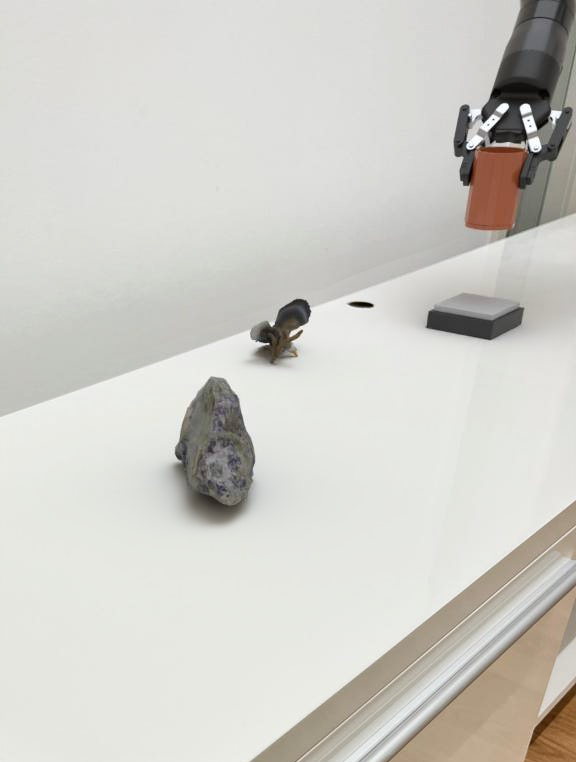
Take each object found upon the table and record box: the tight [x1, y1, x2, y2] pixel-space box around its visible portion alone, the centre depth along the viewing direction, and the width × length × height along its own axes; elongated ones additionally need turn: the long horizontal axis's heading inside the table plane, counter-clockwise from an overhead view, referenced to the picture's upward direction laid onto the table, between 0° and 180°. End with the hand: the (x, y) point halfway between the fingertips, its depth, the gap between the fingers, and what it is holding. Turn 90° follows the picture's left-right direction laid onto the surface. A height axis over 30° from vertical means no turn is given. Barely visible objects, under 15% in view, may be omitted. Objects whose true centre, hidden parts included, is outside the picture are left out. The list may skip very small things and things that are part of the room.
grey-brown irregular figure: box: [249, 298, 312, 364], centre depth 129 cm, size 8×7×9 cm
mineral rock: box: [174, 375, 256, 506], centre depth 94 cm, size 13×11×10 cm
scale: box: [425, 292, 525, 340], centre depth 138 cm, size 9×9×3 cm
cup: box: [463, 145, 528, 232], centre depth 131 cm, size 6×6×9 cm
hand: (493, 183), depth 130 cm, fingers closed on cup, 6 cm apart
